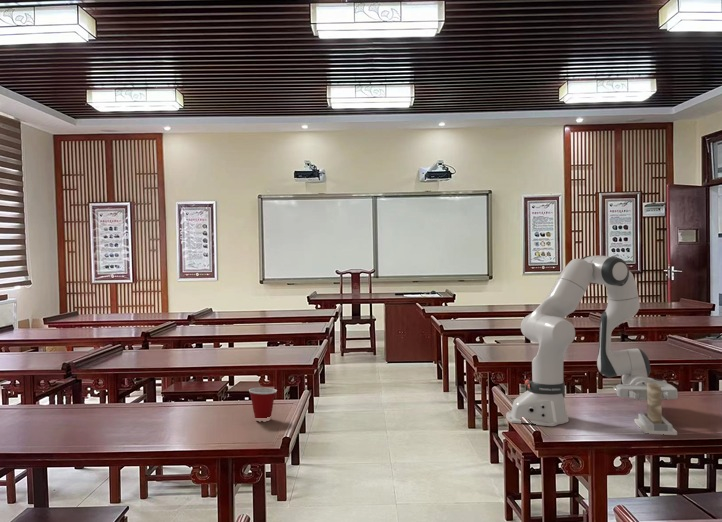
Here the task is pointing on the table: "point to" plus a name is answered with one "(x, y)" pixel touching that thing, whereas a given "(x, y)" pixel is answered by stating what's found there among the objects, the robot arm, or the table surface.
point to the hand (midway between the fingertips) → (651, 397)
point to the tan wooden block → (654, 403)
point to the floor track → (654, 425)
